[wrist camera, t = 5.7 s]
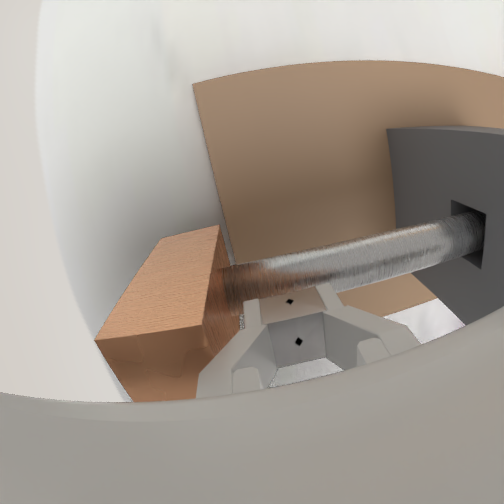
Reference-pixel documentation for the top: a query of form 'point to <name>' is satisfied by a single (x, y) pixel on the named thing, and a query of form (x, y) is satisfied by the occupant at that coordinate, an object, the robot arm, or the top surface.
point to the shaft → (246, 294)
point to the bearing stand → (362, 167)
